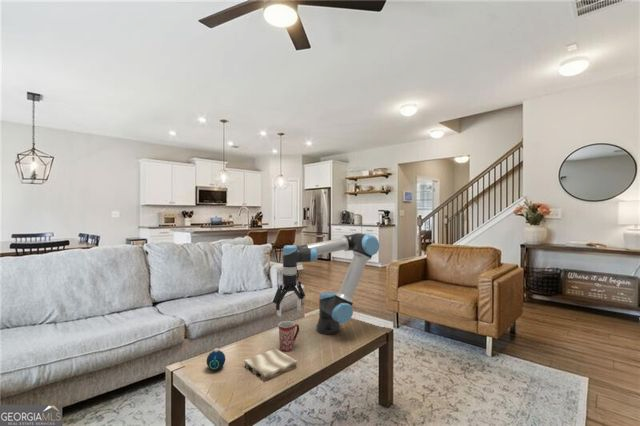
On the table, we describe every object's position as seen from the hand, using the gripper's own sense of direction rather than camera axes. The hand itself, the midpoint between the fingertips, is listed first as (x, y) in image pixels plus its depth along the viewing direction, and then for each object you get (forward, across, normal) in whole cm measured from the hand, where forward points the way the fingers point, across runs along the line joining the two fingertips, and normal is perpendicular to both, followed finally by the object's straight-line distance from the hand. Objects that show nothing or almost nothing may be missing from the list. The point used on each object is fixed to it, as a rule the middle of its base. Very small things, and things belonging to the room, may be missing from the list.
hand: (289, 312), depth 167 cm
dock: (+19, +19, +10) cm, 29 cm away
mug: (+19, 0, 0) cm, 19 cm away
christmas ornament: (+20, +39, -6) cm, 44 cm away
